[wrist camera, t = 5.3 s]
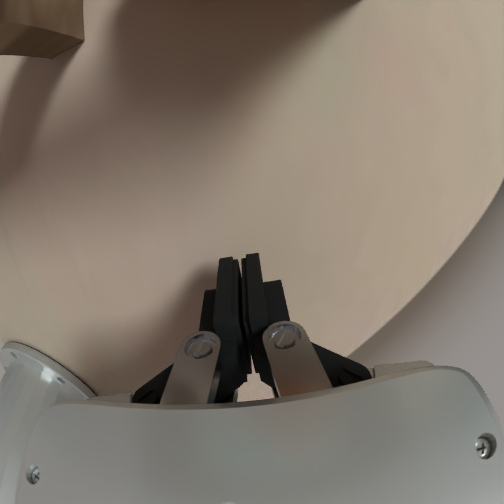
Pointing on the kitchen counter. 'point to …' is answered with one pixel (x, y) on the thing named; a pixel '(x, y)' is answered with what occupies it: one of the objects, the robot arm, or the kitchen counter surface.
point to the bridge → (40, 27)
